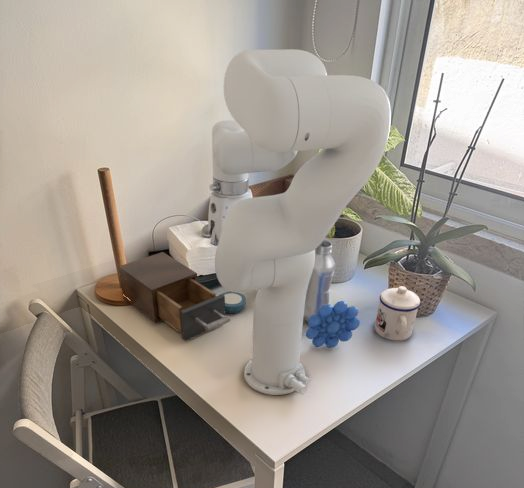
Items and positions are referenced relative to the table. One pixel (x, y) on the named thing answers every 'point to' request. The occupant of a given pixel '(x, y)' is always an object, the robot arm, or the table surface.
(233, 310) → the teal white round disc
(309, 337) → the blue knobbly flower
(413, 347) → the table surface
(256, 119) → the robot arm
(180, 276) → the cabinet
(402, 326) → the teacup with lid
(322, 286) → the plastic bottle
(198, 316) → the drawer
